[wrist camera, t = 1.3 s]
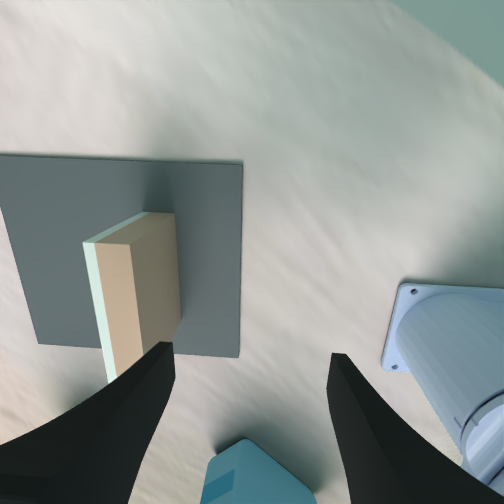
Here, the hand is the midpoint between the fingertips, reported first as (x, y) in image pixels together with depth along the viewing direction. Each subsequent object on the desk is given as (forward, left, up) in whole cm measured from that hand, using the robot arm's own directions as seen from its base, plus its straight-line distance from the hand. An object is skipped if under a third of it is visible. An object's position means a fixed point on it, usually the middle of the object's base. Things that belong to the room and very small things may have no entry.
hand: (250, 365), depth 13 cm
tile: (+8, 0, -10) cm, 12 cm away
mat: (+11, 0, -10) cm, 14 cm away
